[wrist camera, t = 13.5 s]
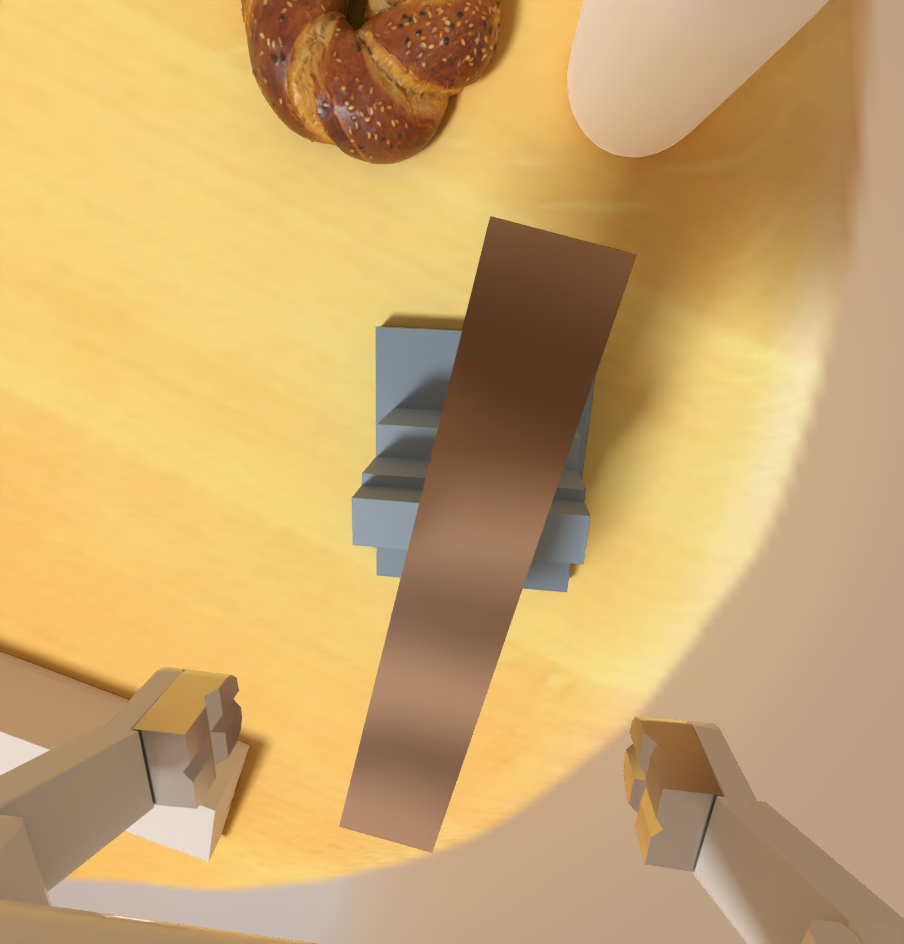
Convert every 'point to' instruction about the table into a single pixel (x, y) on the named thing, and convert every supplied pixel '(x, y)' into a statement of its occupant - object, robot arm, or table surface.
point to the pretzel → (368, 68)
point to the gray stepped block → (409, 451)
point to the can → (669, 64)
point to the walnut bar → (481, 515)
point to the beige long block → (85, 707)
